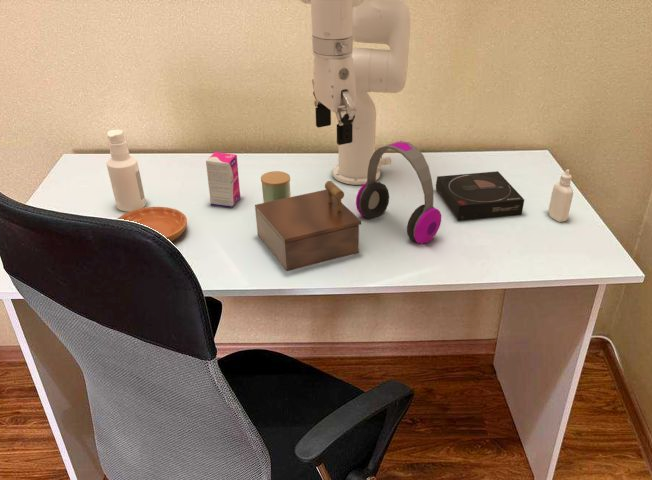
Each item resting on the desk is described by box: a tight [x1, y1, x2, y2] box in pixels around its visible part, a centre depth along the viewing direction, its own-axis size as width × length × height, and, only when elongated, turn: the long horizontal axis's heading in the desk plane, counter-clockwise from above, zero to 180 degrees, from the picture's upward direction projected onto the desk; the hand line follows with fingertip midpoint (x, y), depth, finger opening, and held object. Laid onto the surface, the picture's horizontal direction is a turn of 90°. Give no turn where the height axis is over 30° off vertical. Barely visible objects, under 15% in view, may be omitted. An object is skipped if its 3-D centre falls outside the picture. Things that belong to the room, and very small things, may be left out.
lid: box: [254, 180, 362, 243], centre depth 140 cm, size 17×17×6 cm
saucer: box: [117, 206, 188, 243], centre depth 148 cm, size 16×16×3 cm
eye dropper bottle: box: [547, 169, 574, 223], centre depth 156 cm, size 4×6×12 cm
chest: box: [254, 207, 360, 272], centre depth 144 cm, size 17×17×7 cm
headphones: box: [355, 140, 442, 245], centre depth 147 cm, size 21×9×20 cm, turn 45°
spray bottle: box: [106, 129, 147, 212], centre depth 153 cm, size 7×7×18 cm
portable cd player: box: [435, 170, 525, 222], centre depth 164 cm, size 16×17×4 cm
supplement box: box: [205, 151, 241, 209], centre depth 158 cm, size 6×6×12 cm
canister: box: [260, 170, 292, 203], centre depth 154 cm, size 7×7×10 cm
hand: (333, 134), depth 134 cm, fingers open, 9 cm apart
